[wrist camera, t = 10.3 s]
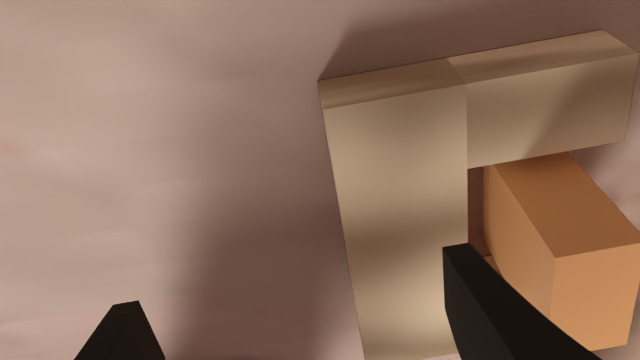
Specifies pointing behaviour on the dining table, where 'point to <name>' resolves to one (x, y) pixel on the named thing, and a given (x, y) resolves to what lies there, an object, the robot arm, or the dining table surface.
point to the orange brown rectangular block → (563, 246)
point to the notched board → (452, 163)
